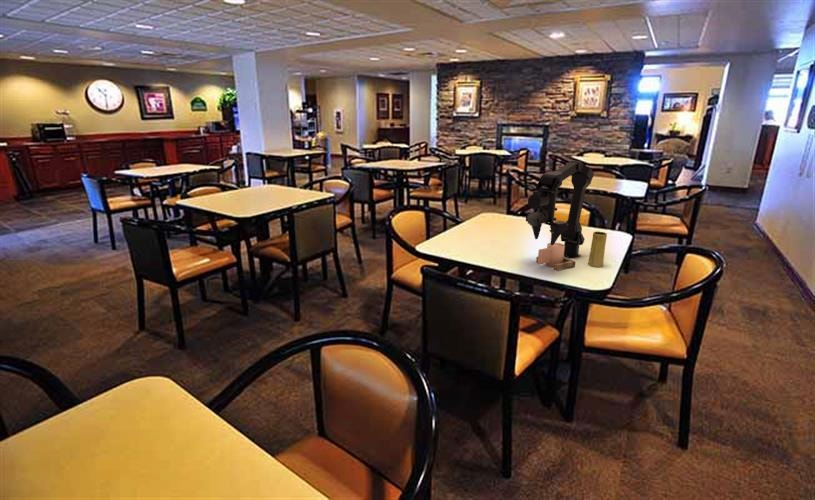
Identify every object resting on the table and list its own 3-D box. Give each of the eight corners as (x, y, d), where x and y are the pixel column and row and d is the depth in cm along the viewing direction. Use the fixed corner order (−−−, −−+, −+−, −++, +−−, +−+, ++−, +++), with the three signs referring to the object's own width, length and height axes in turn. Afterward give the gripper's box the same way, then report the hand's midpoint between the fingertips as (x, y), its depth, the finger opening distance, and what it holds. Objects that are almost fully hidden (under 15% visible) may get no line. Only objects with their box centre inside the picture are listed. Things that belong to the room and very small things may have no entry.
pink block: (553, 261, 191) (556, 241, 188) (565, 266, 185) (568, 246, 182) (532, 265, 186) (534, 245, 183) (544, 270, 180) (546, 250, 177)
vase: (604, 267, 183) (609, 235, 178) (589, 266, 184) (593, 234, 180) (601, 263, 189) (606, 231, 184) (586, 262, 190) (590, 230, 185)
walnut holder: (554, 258, 194) (554, 253, 193) (574, 267, 184) (575, 261, 183) (536, 262, 190) (536, 256, 189) (556, 271, 179) (556, 265, 179)
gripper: (516, 202, 179) (514, 238, 184) (549, 212, 164) (545, 251, 169) (537, 200, 184) (534, 235, 189) (571, 209, 168) (566, 247, 173)
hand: (544, 242), depth 180 cm, fingers open, 9 cm apart
